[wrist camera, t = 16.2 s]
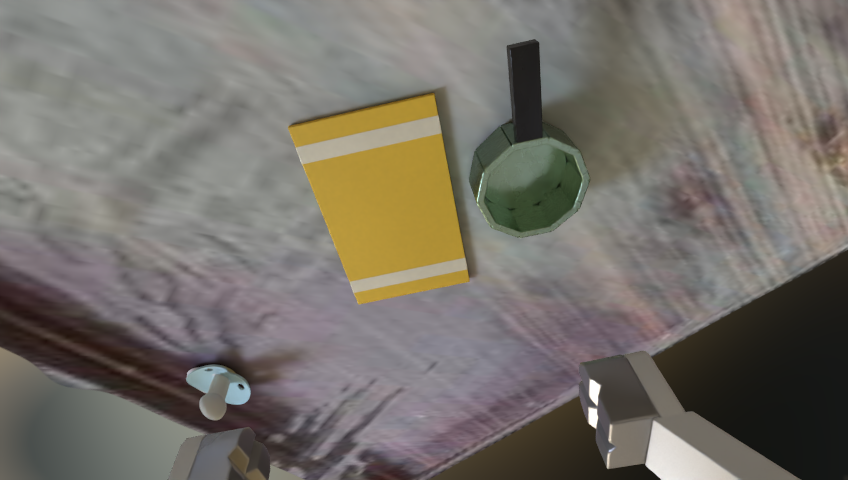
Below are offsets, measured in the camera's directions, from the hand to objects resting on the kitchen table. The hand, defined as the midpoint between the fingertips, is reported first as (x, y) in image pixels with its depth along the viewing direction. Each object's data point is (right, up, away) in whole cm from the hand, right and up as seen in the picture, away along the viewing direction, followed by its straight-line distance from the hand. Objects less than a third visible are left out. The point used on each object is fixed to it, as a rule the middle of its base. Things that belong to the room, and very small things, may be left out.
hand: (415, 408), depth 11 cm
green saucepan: (+8, +13, +27) cm, 31 cm away
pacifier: (-24, -12, +42) cm, 50 cm away
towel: (-3, +7, +31) cm, 32 cm away
